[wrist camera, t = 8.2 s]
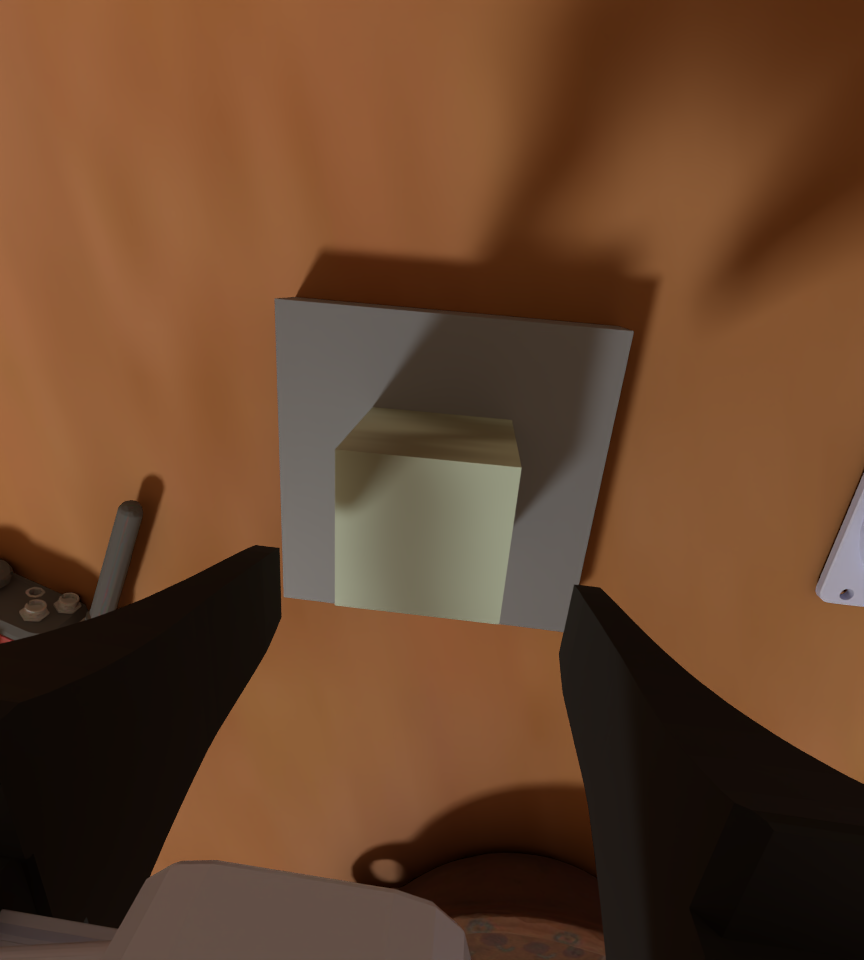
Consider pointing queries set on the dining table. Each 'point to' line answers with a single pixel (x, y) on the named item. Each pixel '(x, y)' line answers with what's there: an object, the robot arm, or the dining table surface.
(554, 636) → the dining table surface
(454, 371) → the stand
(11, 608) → the walkie-talkie
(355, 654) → the dining table surface
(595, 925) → the dish
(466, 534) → the cube
